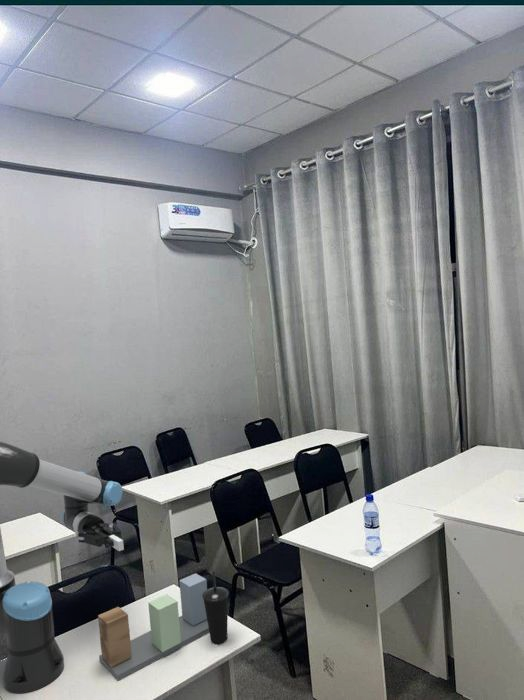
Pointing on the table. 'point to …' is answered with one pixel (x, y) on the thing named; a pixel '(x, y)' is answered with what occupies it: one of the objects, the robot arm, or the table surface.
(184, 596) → the blue-grey tall block
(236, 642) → the table surface
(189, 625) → the grey flat board
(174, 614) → the pale green block
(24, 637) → the robot arm
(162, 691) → the table surface
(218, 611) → the drinking cup
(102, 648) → the brown wooden block
